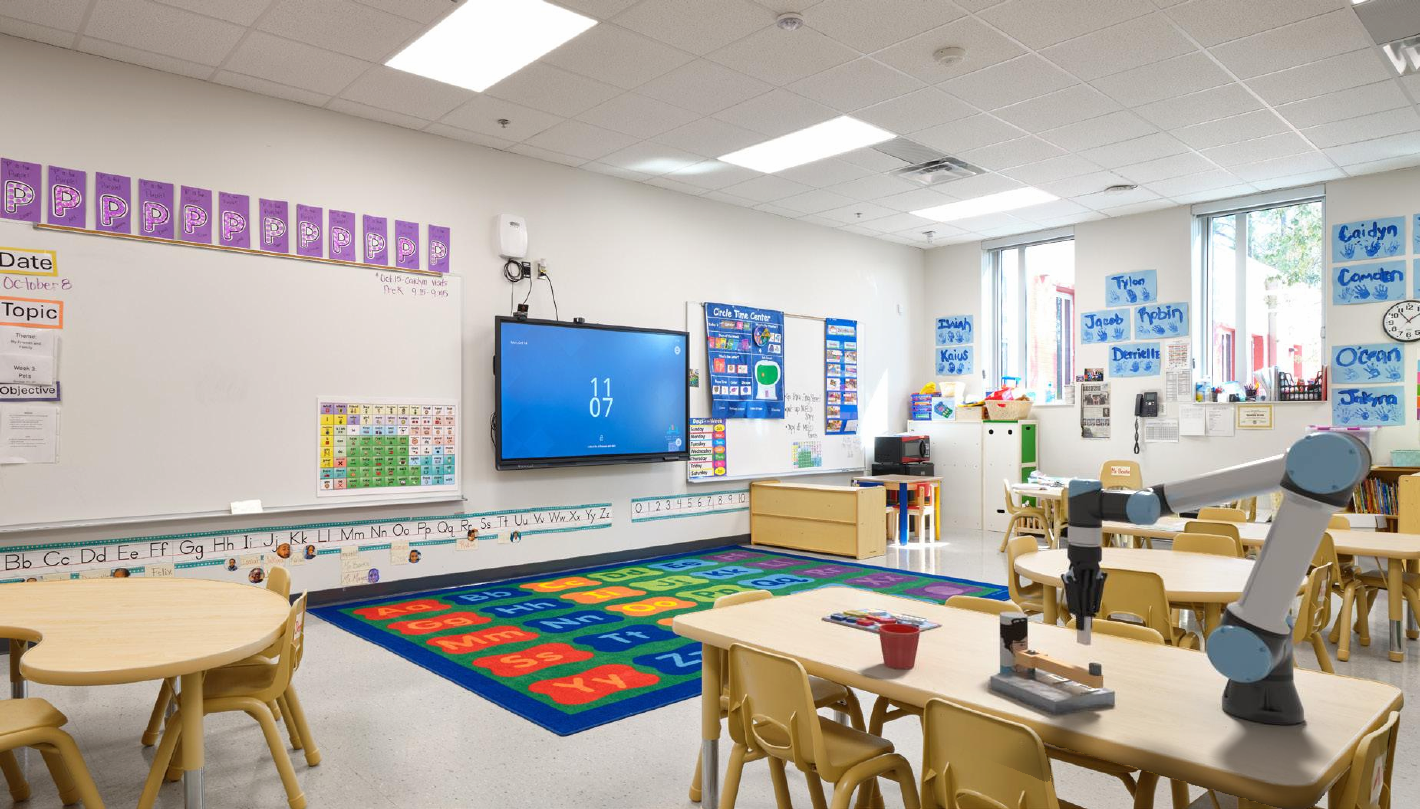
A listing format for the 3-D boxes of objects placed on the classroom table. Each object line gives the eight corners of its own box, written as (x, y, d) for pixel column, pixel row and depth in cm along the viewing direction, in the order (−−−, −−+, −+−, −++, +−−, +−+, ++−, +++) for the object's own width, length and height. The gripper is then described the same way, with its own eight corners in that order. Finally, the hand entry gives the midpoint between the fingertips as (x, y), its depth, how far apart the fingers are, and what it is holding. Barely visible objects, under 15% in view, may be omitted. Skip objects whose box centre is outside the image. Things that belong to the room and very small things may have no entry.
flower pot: (928, 664, 221) (927, 627, 221) (906, 673, 213) (906, 635, 213) (892, 656, 228) (892, 621, 229) (870, 665, 220) (870, 628, 221)
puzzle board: (943, 628, 263) (942, 619, 264) (898, 640, 249) (898, 631, 249) (866, 611, 287) (866, 603, 287) (820, 621, 272) (820, 613, 272)
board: (1114, 704, 190) (1114, 668, 190) (1055, 715, 183) (1054, 678, 183) (1046, 679, 208) (1046, 647, 209) (990, 688, 201) (990, 655, 201)
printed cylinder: (1014, 679, 209) (1014, 618, 209) (994, 672, 215) (993, 613, 215) (1033, 675, 212) (1033, 615, 212) (1012, 668, 218) (1012, 610, 218)
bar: (1015, 662, 207) (1015, 642, 207) (1031, 660, 209) (1031, 640, 209) (1091, 689, 186) (1091, 667, 186) (1108, 687, 188) (1108, 664, 188)
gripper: (1091, 540, 206) (1091, 636, 205) (1051, 543, 200) (1050, 642, 200) (1117, 544, 199) (1116, 644, 198) (1076, 547, 193) (1076, 650, 193)
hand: (1083, 643), depth 199 cm, fingers closed
